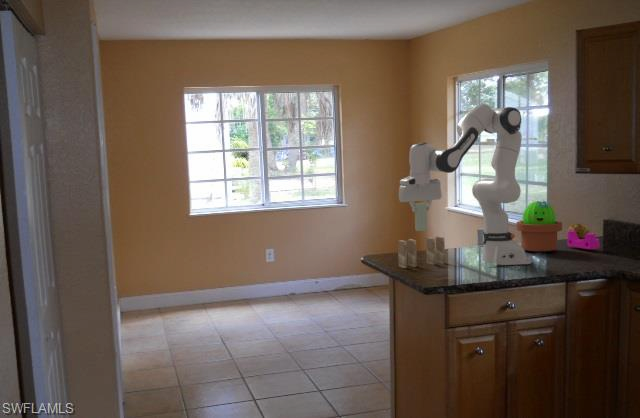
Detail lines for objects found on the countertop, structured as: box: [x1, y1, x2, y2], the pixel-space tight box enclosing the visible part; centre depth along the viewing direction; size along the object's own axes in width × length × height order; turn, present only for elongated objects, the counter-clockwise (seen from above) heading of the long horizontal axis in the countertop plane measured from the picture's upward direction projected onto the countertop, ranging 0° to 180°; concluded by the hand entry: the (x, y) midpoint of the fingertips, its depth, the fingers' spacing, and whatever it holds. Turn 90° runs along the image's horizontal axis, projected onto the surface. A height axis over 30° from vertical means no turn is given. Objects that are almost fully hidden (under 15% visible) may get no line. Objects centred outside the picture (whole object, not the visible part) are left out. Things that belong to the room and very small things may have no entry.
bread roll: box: [567, 223, 590, 238], centre depth 375 cm, size 13×10×8 cm
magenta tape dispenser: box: [567, 230, 600, 250], centre depth 340 cm, size 15×6×8 cm, turn 24°
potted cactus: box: [516, 200, 563, 252], centre depth 336 cm, size 22×22×25 cm
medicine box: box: [477, 228, 484, 246], centre depth 355 cm, size 8×4×9 cm, turn 71°
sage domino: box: [414, 202, 428, 232], centre depth 294 cm, size 2×5×12 cm, turn 113°
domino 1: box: [407, 238, 418, 268], centre depth 303 cm, size 2×5×12 cm, turn 22°
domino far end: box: [397, 239, 408, 269], centre depth 301 cm, size 2×5×12 cm, turn 22°
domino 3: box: [435, 235, 446, 265], centre depth 309 cm, size 2×5×12 cm, turn 22°
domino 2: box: [425, 236, 437, 265], centre depth 307 cm, size 2×5×12 cm, turn 22°
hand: (420, 210), depth 294 cm, fingers closed on sage domino, 5 cm apart
